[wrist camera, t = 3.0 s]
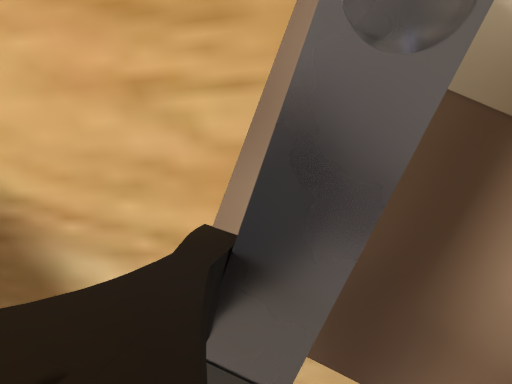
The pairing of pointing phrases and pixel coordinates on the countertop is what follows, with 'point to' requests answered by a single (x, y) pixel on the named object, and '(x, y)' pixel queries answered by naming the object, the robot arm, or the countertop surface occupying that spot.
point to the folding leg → (331, 173)
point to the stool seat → (420, 229)
